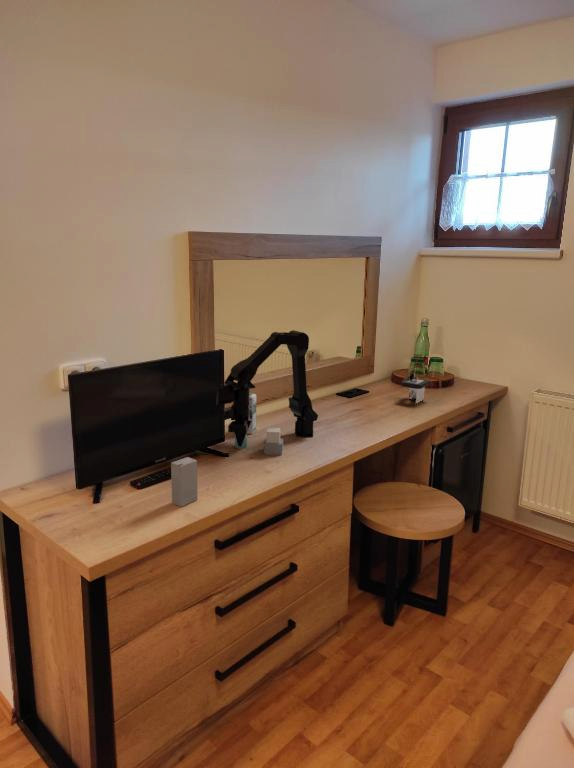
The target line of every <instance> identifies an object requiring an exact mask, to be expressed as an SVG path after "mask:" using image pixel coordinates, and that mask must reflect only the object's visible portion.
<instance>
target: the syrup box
mask: <svg viewBox="0 0 574 768" xmlns="http://www.w3.org/2000/svg"><path fill="white" fill-rule="evenodd" d="M249 403H250V407H249V410H251V411H252V412H253V418H252V419H250V418H249V420H250V421H251V424H250V426H249V429H248V431H247V433H246V435H253V434H254V433H255V432H256V431H257V394H256V393H252V392H250V397H249Z"/></svg>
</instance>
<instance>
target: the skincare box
mask: <svg viewBox="0 0 574 768" xmlns="http://www.w3.org/2000/svg"><path fill="white" fill-rule="evenodd" d="M170 472H171V473H170V474H171V476H170V477H171V481H170V482H171V502H172V503H173V504H175V505H177V506H178V507H184V506H186V505H188V504H191V503H193V502H196V501H197V500H198V460H197V459H194V458H191V457H189V456H187V457H184V458H181V459H178V460H175V461H172V462H170Z"/></svg>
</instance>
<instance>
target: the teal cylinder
mask: <svg viewBox="0 0 574 768" xmlns="http://www.w3.org/2000/svg"><path fill="white" fill-rule="evenodd" d="M234 448H235V449H237V450H238V449H239V450H243V449H244V450H245V449H247V448H248V434H246V436H245V438H244V441H243V443H242V446H238V443H237V439H236V436H235V435H234Z"/></svg>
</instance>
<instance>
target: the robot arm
mask: <svg viewBox="0 0 574 768" xmlns="http://www.w3.org/2000/svg"><path fill="white" fill-rule="evenodd" d="M309 343H310V338H309V335H308V334H307V333H305V332H304V331H300V330H299V331H298V330H295V329H294V330H290V331H288V332H287V331H286V332H285V331H282V332H279V331H273V332H272V333H270V335H269V336H268V338H267V339H266V340H265V341H264V342H263V343H262V344H261V345H259V347H257V349H256V350H254V352H252V353H251V354H250V356H248V357H247V358H245V359H243V360H240V361H238V362H237V363H236V364H234V365H233V366H232V367H231V369H230V373H229V375H228V376H227V377H226V379H225V380H224V382H223V384H224V386H222V389H219V390H217V394H216V405H215V406H220V405H229V404H232V405H231V406H228V407H225V408H223V409H224V421H227V420H230V421H231V422H229V424H228V427H227V431H228V432H227V433H233V434H234V437H235V436H236V439H237V443H238V446H242V443H243V441H244V438H245V436H246V435H247V434H246V433H247V431H248V429H249V426H250V424H251V421H250V420H249V418H250V419H252V418H253V412H252V411H251V410H249V407H250V403H249V397H250V393H251V392H250V390H252V389H255V388H256V385H255V384H253V383H252V380H253V379H254V377H255V376H256V375H257V372H258V369H259V368H260V366H261V365H262V364H263V363H265V361H266V360H267V359H268V358H269V357H270V356H271V355H273V353H274V352H275V351H276V350H277V349H279V347H280V346H282V345H286V348H287V349H288V352H289V354H290V355H291V364H292V365H291V367H292V382H293V383H292V384H293V394H292V396H291V397H288V408H289V409H290V411H291V412H292V414H293V417H295V418H296V420H295V421H294V433H295V436H296V437H308V438H313V437H314V422H316V421H318V418H319V415H318V414H317V412H316V411H315V410H314V409H313V404H312V403H313V402H312V400H311V397H310V396H309V394H308V386H307V384H308V382H307V369H306V368H307V367H306V355H307V352H308V350H309V347H310V346H309V345H310V344H309ZM223 387H224V389H223Z"/></svg>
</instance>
